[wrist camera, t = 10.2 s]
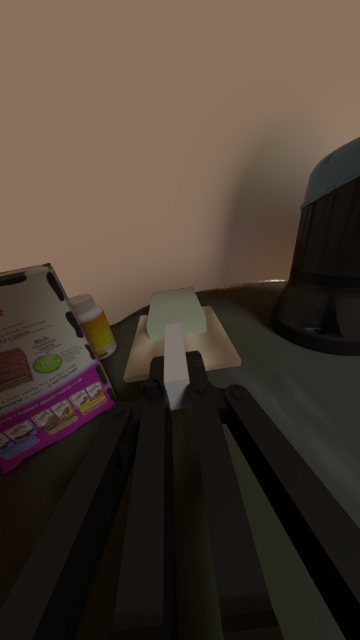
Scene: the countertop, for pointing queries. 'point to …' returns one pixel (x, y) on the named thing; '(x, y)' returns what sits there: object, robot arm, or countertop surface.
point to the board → (209, 344)
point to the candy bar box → (44, 367)
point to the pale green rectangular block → (175, 313)
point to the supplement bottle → (94, 325)
